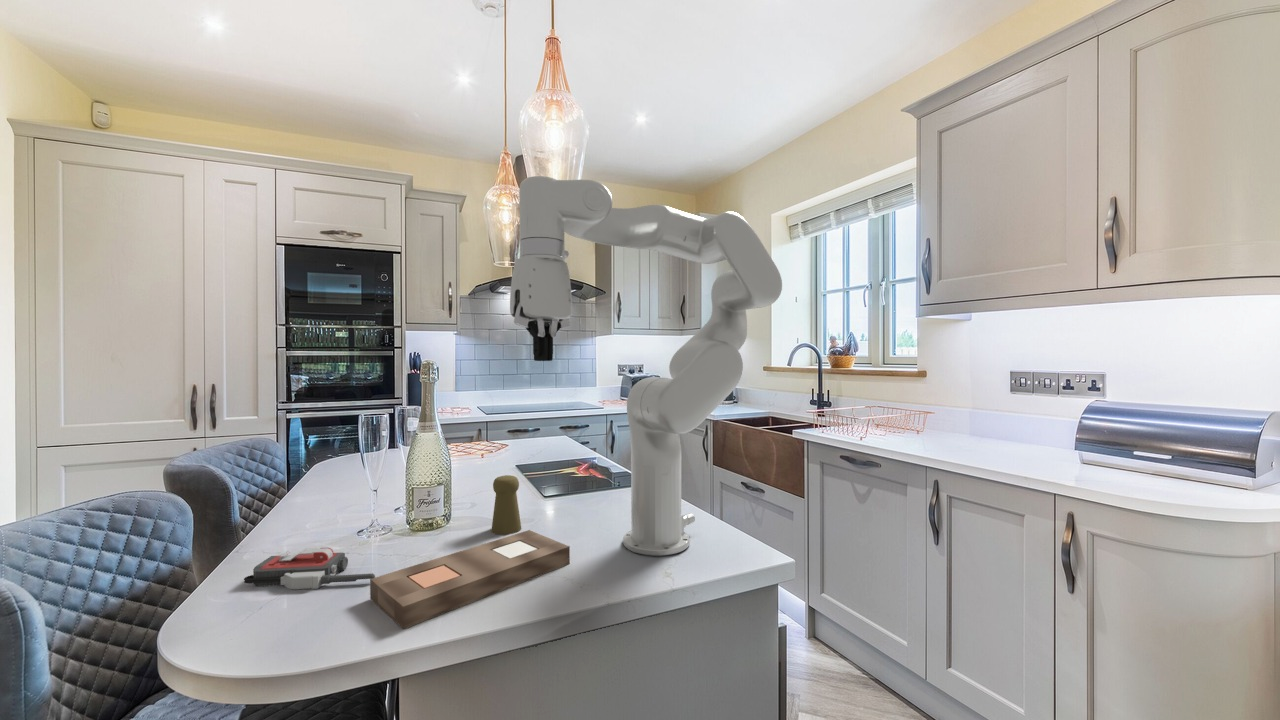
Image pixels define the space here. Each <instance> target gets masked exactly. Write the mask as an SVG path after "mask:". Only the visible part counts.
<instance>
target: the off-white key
mask: <svg viewBox="0 0 1280 720" xmlns="http://www.w3.org/2000/svg"><path fill="white" fill-rule="evenodd" d="M534 550H537V548H534V547H532V546H530V545H528V544H525V543H523V542H521V541H518V542H515V543H512V544H509V545H505V546H502V547H499V548H496V549H493V550H492V551H494V552H496V553H498V554H500V555H502V556H504V557H506V558H508V559H511V558H514V557H517V556H520V555H523V554H526V553H529V552H532V551H534Z"/></svg>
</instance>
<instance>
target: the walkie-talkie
mask: <svg viewBox="0 0 1280 720" xmlns="http://www.w3.org/2000/svg"><path fill="white" fill-rule="evenodd" d="M348 563H349V559H348V557H347V556H346V552H335V551H334V550H333V549H332V548H331V547H319V548H318V547H313V548H305V549H304V550H302V551H301V552H299V553H297V554H291V552H290V551H286V552H284V553H283V554H279V555H271V556H269V557H268V558H266V559H264V560H263V561H261V562H260V563H259V564H257V565H255V566H254V568H253V574H251V575H250V574H249V575H247V576H245V577H243V582H244V584H248V585H249V584H253V586H254V587H268V586H269V585H270V586H271V587H272V586H273V587H274V586H284V588H287V589H289V590H292V589H293V590H305V589H306V590H308V589H309V590H310V588H311V589H314V590H315V589H316V590H317V589H319V588H321V587H322V586H323V585H328V584H331V583H346V582H347V583H350V582H356V581H358V580H370V579H372V578H375V577H376V575H375V574H374V573H355V574H342V575H341V574H340V575H339V573H340V572H341V571H345V570H346V568H347V567H348V565H349V564H348ZM270 586H269V587H270Z"/></svg>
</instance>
